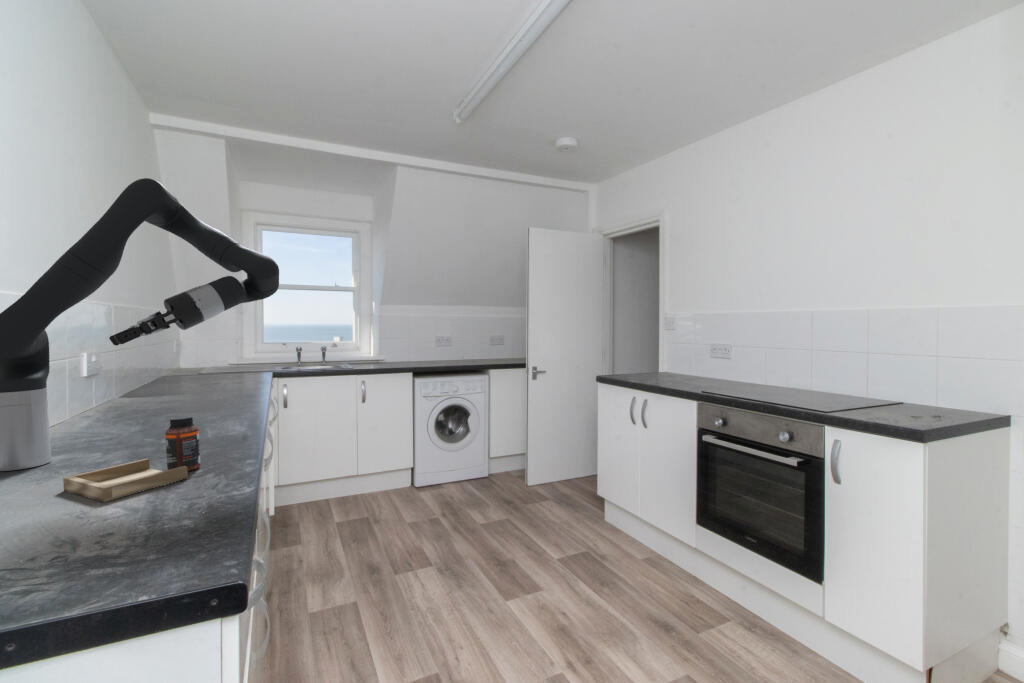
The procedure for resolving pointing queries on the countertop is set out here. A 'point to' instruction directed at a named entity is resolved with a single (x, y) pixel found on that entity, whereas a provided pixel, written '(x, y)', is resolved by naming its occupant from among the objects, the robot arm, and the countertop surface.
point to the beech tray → (121, 480)
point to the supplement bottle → (182, 443)
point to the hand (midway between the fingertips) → (114, 341)
